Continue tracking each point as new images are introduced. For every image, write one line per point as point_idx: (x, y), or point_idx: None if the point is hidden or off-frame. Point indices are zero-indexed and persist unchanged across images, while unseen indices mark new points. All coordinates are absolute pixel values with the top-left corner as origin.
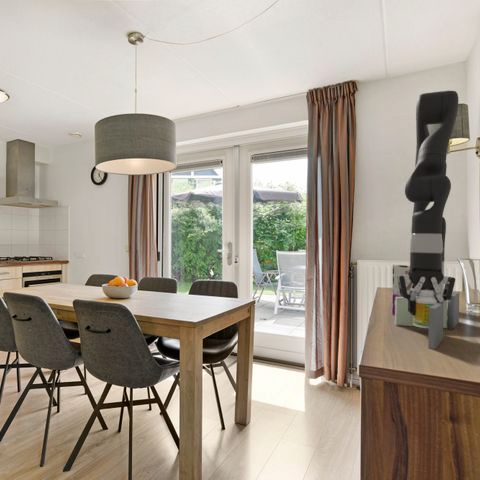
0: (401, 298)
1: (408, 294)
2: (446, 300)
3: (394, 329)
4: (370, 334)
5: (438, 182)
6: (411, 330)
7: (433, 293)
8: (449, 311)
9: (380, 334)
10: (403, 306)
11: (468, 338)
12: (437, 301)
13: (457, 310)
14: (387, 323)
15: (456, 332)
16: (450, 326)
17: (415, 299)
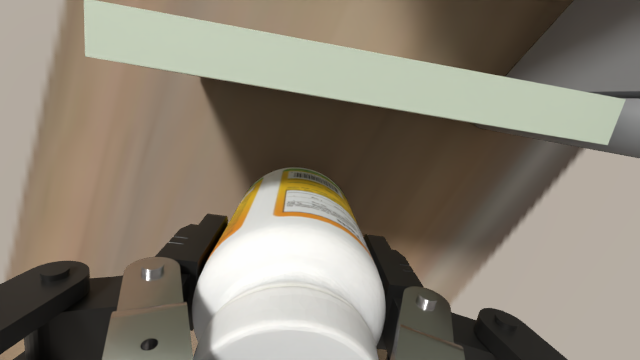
0: (148, 66)
1: (96, 350)
2: (594, 141)
3: (159, 164)
4: (9, 270)
5: None
6: (246, 176)
7: None
8: (540, 134)
9: None
10: (201, 76)
11: (439, 284)
12: (384, 337)
13: None
14: None
15: (459, 192)
16: (484, 128)
17: (193, 324)
